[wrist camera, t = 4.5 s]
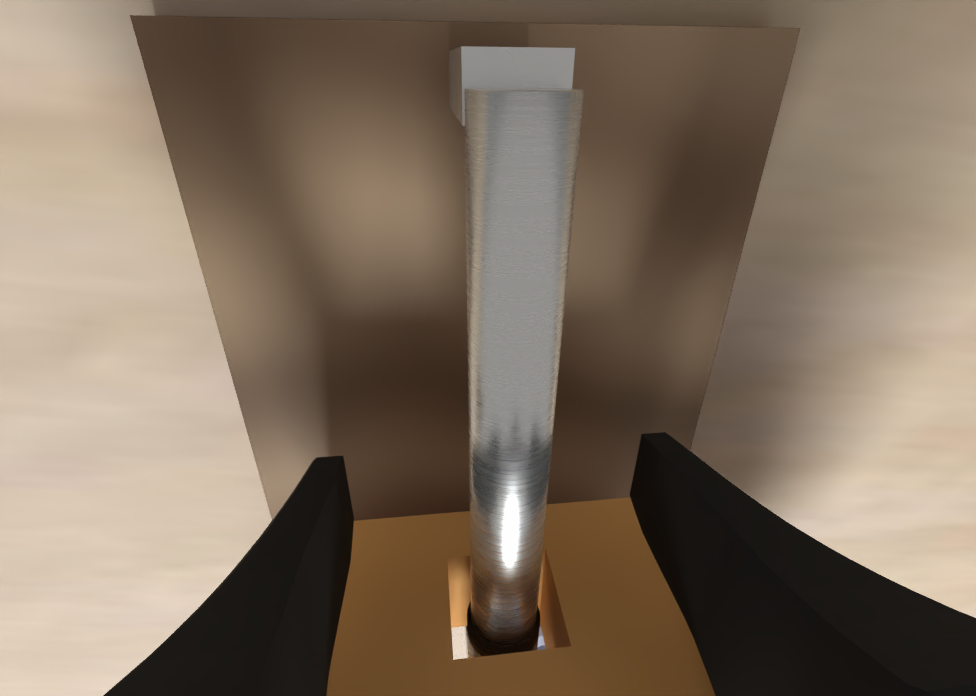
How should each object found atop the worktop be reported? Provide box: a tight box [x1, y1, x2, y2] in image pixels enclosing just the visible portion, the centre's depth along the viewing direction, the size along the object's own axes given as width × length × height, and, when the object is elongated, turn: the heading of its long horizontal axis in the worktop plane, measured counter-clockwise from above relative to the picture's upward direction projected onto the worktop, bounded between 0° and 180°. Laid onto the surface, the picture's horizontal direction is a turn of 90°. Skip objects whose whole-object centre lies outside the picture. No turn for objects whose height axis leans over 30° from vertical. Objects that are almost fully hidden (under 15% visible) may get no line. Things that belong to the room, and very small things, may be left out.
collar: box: [326, 497, 715, 696], centre depth 13 cm, size 3×9×6 cm, turn 89°
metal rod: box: [448, 46, 584, 658], centre depth 12 cm, size 17×2×5 cm, turn 0°
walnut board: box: [130, 15, 800, 521], centre depth 15 cm, size 18×13×1 cm
